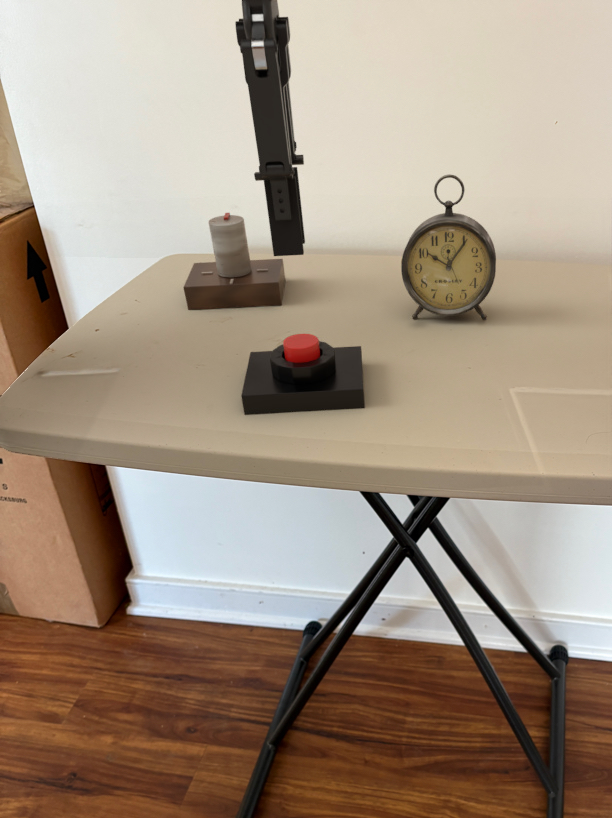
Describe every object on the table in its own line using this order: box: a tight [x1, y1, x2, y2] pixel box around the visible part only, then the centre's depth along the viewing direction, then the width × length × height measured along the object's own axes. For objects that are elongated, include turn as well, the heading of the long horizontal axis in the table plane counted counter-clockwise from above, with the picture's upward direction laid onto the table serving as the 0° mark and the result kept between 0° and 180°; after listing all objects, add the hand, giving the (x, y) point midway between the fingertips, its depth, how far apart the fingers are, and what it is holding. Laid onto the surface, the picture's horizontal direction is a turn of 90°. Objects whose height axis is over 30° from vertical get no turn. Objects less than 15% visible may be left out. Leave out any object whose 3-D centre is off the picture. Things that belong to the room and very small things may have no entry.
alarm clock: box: [400, 174, 497, 321], centre depth 88 cm, size 11×5×16 cm, turn 83°
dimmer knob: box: [208, 212, 252, 278], centre depth 97 cm, size 4×4×7 cm
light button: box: [282, 333, 320, 363], centre depth 77 cm, size 4×4×2 cm
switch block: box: [240, 340, 366, 416], centre depth 78 cm, size 12×10×4 cm
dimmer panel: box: [183, 258, 286, 311], centre depth 100 cm, size 12×9×3 cm
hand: (289, 248), depth 71 cm, fingers open, 2 cm apart
